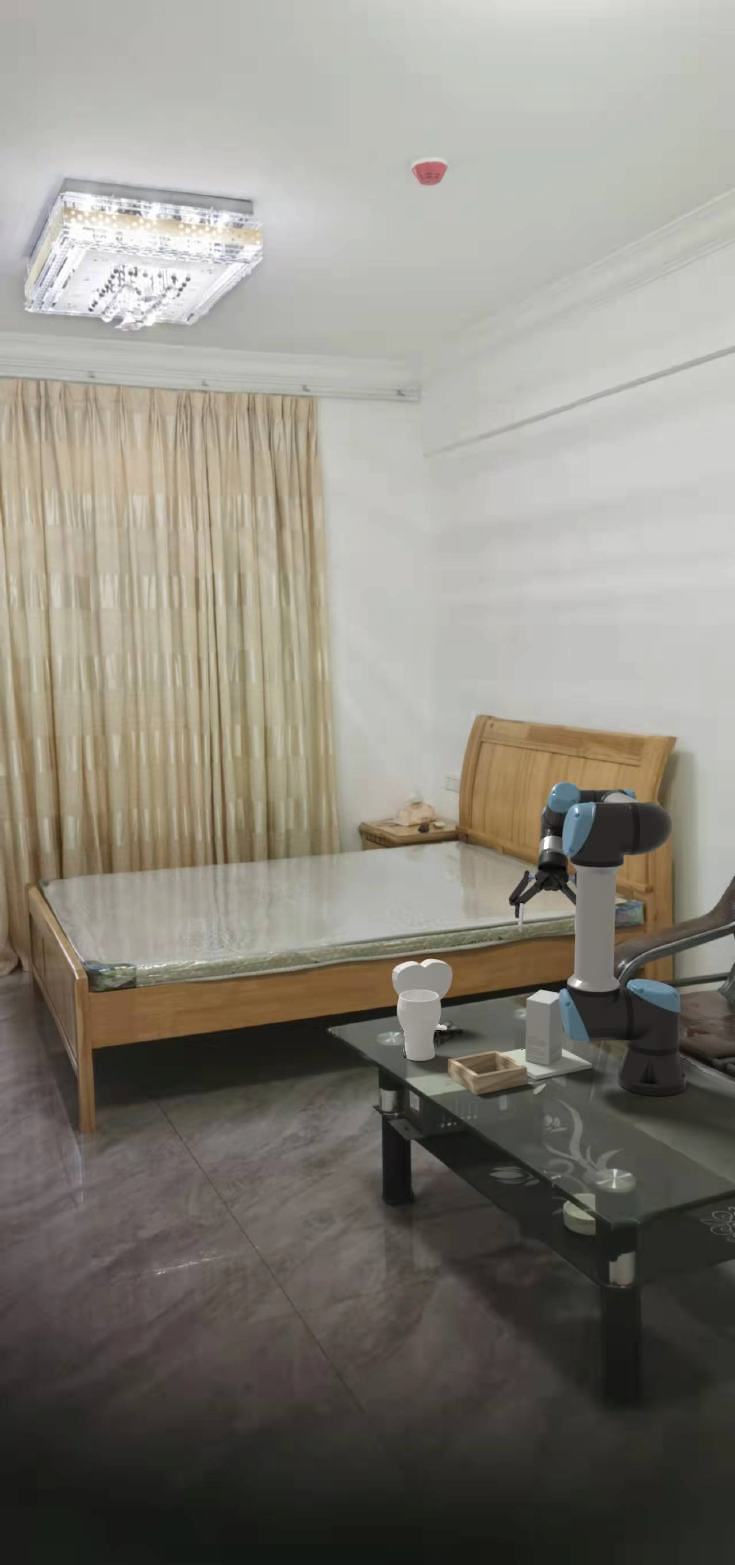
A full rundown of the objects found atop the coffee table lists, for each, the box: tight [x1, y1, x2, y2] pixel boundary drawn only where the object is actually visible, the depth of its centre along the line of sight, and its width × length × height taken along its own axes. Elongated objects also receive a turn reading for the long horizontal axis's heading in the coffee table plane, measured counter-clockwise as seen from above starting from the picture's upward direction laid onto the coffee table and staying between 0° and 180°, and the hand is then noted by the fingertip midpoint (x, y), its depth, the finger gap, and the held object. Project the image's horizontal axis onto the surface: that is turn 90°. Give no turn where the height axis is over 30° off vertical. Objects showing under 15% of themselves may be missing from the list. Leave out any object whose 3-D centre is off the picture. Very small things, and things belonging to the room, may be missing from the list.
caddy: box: [447, 1049, 528, 1096], centre depth 268 cm, size 12×13×4 cm
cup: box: [396, 990, 442, 1062], centre depth 283 cm, size 11×11×15 cm
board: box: [502, 1048, 593, 1081], centre depth 279 cm, size 16×16×1 cm
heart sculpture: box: [391, 958, 454, 1031], centre depth 302 cm, size 16×5×18 cm, turn 111°
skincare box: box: [525, 989, 564, 1066], centre depth 278 cm, size 8×7×16 cm
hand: (547, 930), depth 286 cm, fingers open, 13 cm apart
